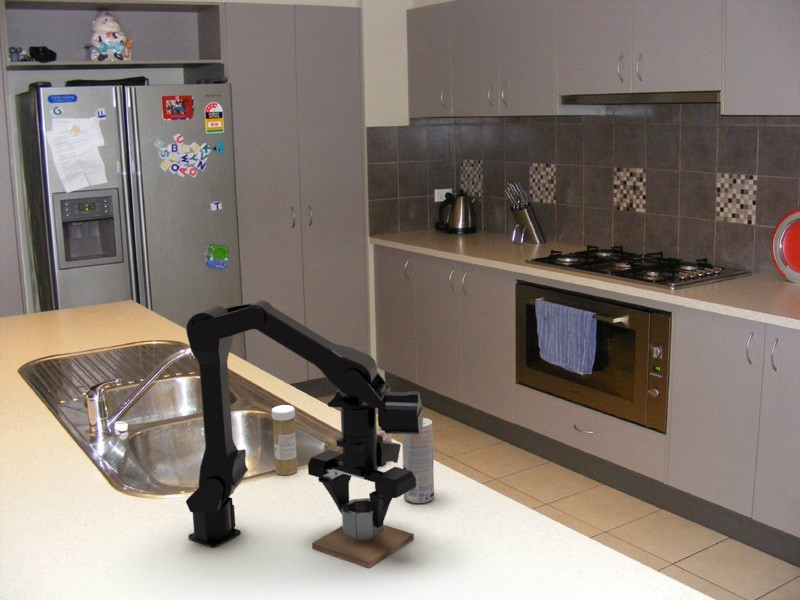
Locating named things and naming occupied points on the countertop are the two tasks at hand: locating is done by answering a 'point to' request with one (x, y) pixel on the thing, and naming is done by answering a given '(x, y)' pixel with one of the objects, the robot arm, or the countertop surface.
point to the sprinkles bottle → (284, 439)
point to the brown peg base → (363, 545)
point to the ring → (359, 519)
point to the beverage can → (420, 462)
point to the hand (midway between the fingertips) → (362, 521)
